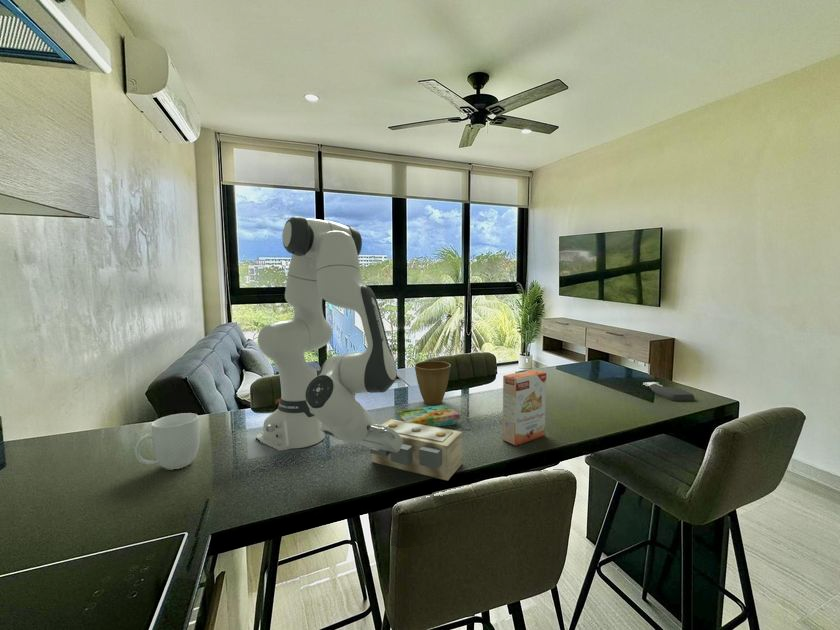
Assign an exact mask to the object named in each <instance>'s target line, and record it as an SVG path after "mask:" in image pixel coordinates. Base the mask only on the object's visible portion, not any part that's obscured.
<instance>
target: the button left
mask: <svg viewBox="0 0 840 630" xmlns="http://www.w3.org/2000/svg"><path fill="white" fill-rule="evenodd" d="M369 450H370V454H371V455H372V454H377V455H381V456H385V457H386V456H388V455H389V454H390V453H391V452H390V451H386V450H381V449H380V451H376V450H372V449H369Z"/></svg>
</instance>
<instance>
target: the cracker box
mask: <svg viewBox="0 0 840 630" xmlns="http://www.w3.org/2000/svg"><path fill="white" fill-rule="evenodd" d="M502 386H503V387H502V388H503V389H502V439H501V440H502V441H505V442H507V443H509V444H511V445H513V446H515V447H517V446H519V445H522V444H525V443H527V442H530V441H533V440H535V439H536V440H537V439H539V438H542V437H544V436H545V434H546V404H547V403H546V400H547V373H546V372H544V371H540V370H535V369H531V370H530V369H529V370H525V371H519V372H514V373H509V374H504V375H503V377H502Z"/></svg>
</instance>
